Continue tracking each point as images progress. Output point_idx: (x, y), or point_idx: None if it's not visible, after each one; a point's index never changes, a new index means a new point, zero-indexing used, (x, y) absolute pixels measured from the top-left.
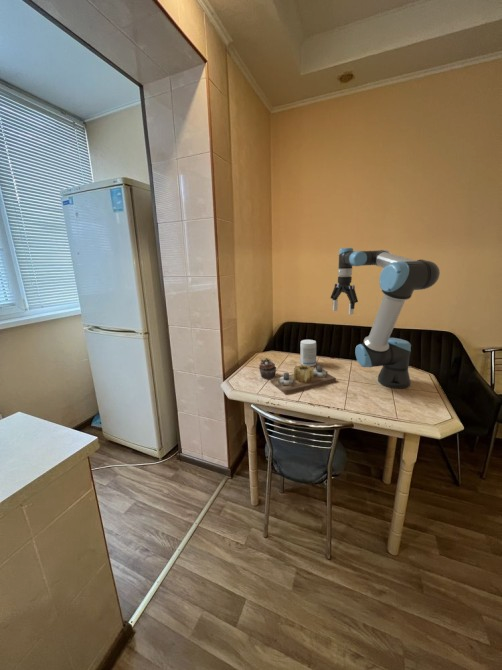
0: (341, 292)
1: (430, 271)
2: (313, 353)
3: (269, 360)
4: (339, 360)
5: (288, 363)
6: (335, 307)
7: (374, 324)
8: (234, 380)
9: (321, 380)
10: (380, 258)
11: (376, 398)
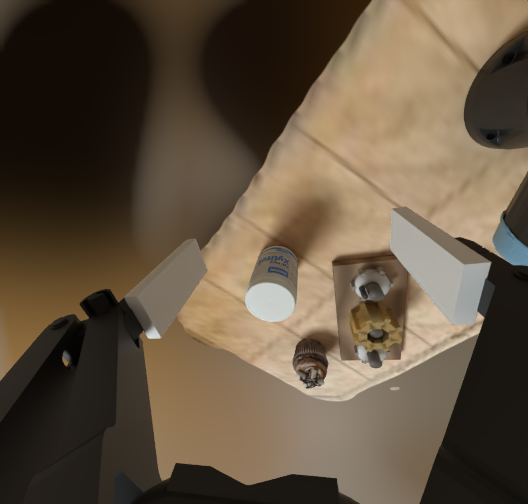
0: (116, 421)
1: None
2: (296, 278)
3: (313, 378)
4: (279, 166)
5: None
6: (191, 271)
7: None
8: (306, 388)
9: (400, 292)
10: None
11: None
